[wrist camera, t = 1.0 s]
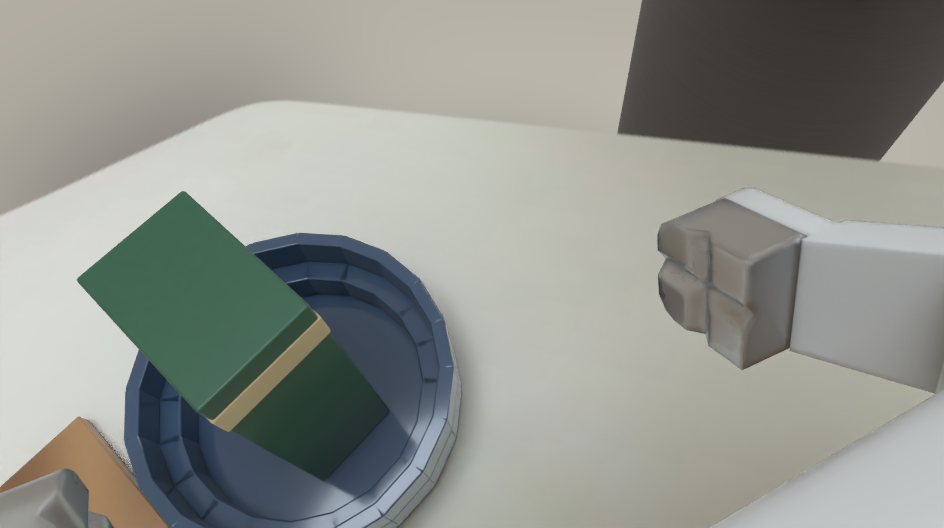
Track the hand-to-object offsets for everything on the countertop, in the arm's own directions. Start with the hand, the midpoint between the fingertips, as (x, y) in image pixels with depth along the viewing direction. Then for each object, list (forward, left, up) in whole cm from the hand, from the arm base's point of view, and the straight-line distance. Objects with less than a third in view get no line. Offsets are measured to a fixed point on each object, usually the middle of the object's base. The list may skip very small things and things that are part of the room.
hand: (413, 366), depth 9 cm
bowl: (+2, -9, -21) cm, 23 cm away
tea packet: (+2, -9, -20) cm, 22 cm away
